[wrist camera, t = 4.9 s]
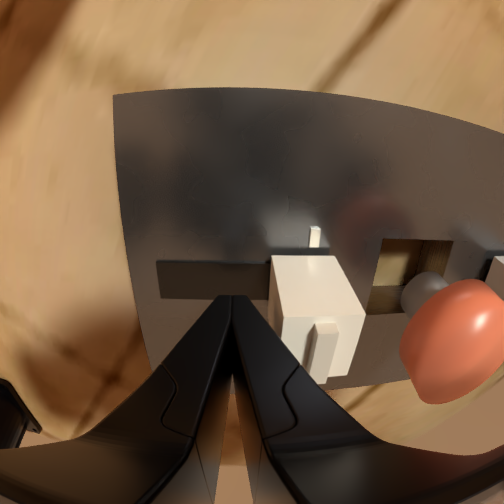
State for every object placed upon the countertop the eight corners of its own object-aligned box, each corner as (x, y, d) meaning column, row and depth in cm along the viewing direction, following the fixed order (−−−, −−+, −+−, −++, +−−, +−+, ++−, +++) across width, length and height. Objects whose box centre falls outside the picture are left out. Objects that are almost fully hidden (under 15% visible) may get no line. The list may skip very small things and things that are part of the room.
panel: (491, 336, 16) (507, 357, 14) (163, 360, 15) (156, 392, 13) (550, 154, 10) (577, 166, 8) (134, 95, 9) (111, 95, 7)
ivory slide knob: (324, 311, 11) (350, 385, 8) (267, 313, 11) (277, 391, 8) (334, 255, 10) (371, 324, 7) (271, 255, 10) (286, 328, 7)
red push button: (443, 328, 11) (485, 390, 8) (366, 337, 11) (399, 413, 8) (473, 247, 9) (534, 303, 6) (390, 246, 9) (449, 316, 6)
